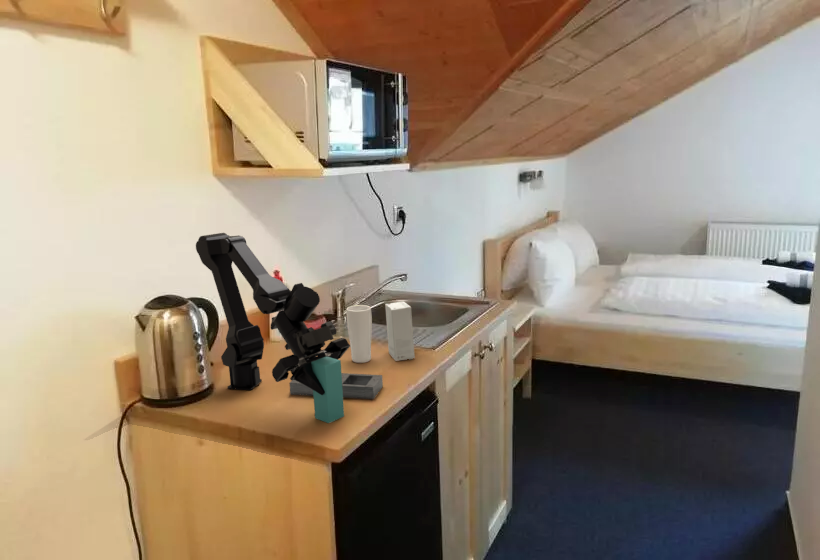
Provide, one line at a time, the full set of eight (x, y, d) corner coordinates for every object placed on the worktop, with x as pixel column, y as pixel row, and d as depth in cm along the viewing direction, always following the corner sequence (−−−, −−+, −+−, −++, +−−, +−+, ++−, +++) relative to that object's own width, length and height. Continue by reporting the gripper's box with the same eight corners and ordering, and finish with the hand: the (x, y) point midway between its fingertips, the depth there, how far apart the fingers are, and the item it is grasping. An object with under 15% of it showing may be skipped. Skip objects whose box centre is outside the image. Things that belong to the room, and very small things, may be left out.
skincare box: (415, 359, 176) (413, 307, 173) (393, 361, 175) (391, 309, 172) (407, 350, 184) (405, 300, 181) (386, 352, 183) (384, 302, 180)
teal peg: (315, 418, 141) (311, 362, 138) (330, 411, 144) (326, 356, 141) (328, 423, 138) (325, 366, 135) (344, 416, 141) (340, 360, 138)
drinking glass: (372, 355, 181) (369, 304, 178) (375, 363, 174) (372, 310, 171) (348, 357, 180) (345, 305, 177) (350, 365, 173) (347, 312, 170)
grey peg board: (290, 394, 155) (289, 382, 154) (302, 382, 162) (302, 370, 162) (373, 399, 150) (373, 386, 149) (382, 386, 157) (382, 374, 157)
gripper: (275, 322, 132) (314, 384, 127) (342, 303, 145) (379, 358, 141) (256, 351, 138) (292, 411, 134) (321, 330, 152) (356, 384, 147)
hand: (332, 390), depth 139 cm, fingers closed on teal peg, 4 cm apart
